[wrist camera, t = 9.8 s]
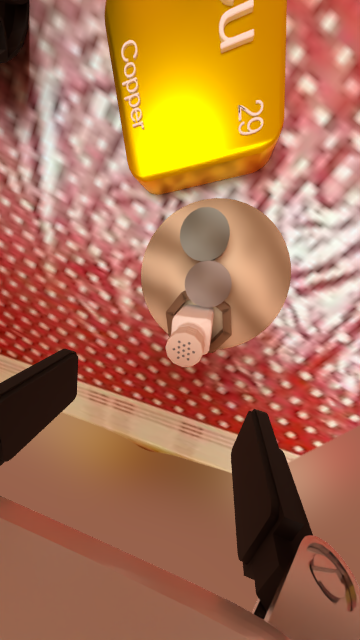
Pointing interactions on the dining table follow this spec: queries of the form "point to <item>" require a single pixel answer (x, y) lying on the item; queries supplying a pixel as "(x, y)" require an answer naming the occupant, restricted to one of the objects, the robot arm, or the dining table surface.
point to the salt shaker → (190, 335)
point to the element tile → (197, 87)
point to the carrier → (218, 269)
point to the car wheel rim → (12, 27)
